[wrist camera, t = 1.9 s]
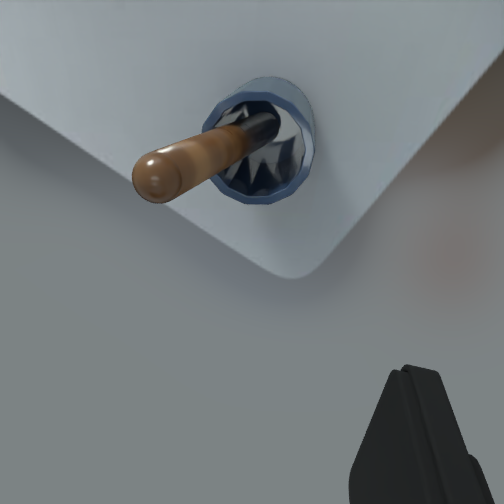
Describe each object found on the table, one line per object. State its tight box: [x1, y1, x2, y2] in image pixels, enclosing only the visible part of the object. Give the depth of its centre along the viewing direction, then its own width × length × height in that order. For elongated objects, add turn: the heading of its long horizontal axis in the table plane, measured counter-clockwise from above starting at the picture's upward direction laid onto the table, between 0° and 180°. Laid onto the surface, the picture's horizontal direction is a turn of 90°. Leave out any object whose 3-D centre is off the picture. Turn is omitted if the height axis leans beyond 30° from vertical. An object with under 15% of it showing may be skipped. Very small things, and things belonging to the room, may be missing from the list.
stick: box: [132, 112, 279, 203], centre depth 25 cm, size 2×2×16 cm
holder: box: [202, 77, 315, 205], centre depth 29 cm, size 6×6×8 cm
